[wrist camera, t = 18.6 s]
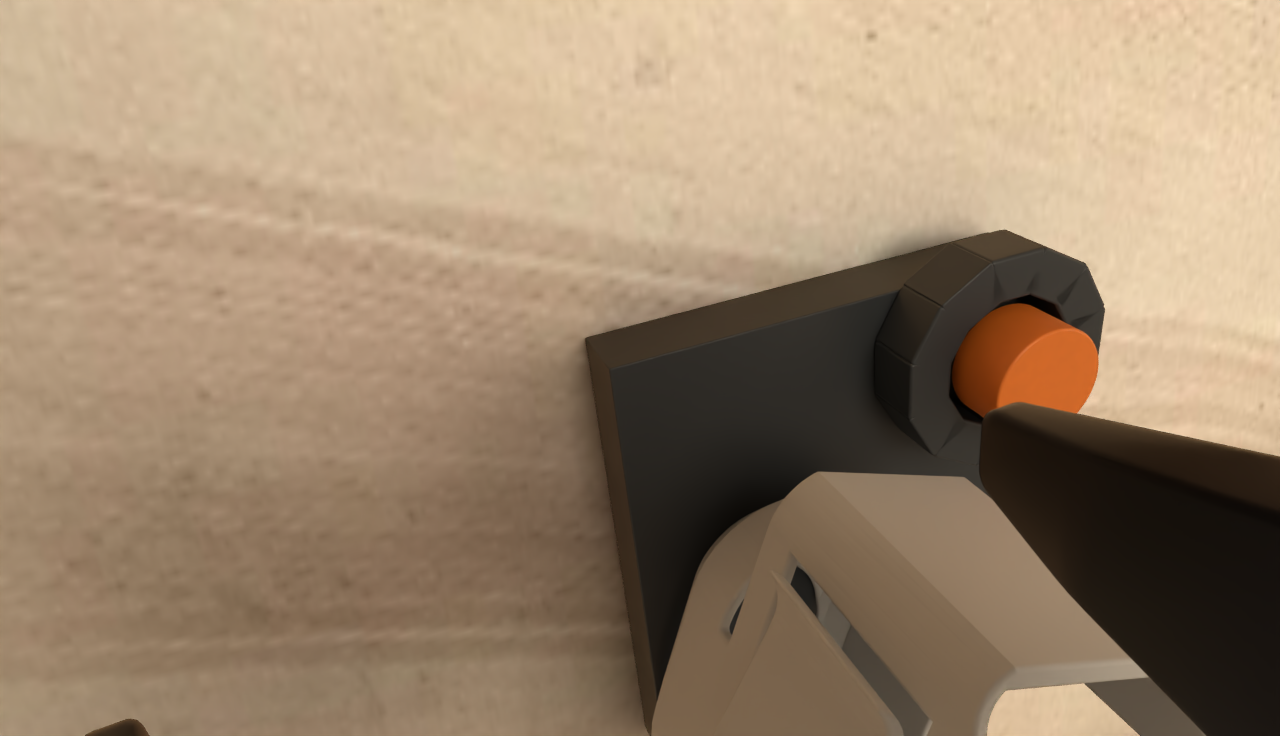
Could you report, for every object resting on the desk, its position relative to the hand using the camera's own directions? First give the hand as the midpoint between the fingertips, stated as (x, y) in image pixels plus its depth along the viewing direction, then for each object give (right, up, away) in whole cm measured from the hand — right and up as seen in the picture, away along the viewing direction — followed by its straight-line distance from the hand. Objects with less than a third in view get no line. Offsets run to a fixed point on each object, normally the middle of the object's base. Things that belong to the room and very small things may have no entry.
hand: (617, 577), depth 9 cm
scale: (+5, -2, +18) cm, 19 cm away
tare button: (+9, +2, +14) cm, 17 cm away
